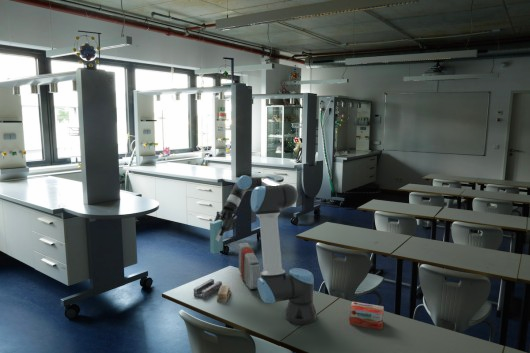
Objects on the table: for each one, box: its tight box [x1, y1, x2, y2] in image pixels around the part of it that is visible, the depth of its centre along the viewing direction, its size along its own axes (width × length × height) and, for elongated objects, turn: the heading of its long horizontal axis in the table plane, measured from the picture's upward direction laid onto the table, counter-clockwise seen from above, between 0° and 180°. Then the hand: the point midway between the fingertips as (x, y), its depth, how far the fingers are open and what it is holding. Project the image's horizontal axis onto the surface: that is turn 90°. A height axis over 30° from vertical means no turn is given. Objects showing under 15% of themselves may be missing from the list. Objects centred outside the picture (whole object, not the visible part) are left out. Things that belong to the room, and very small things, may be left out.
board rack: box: [193, 278, 223, 300], centre depth 219 cm, size 8×15×4 cm, turn 149°
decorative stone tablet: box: [238, 242, 262, 290], centre depth 230 cm, size 19×6×30 cm
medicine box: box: [349, 301, 385, 330], centre depth 189 cm, size 15×8×8 cm, turn 72°
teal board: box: [209, 220, 224, 255], centre depth 221 cm, size 2×8×17 cm, turn 149°
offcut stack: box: [216, 285, 232, 303], centre depth 214 cm, size 6×11×4 cm, turn 172°
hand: (214, 239), depth 220 cm, fingers closed on teal board, 2 cm apart
